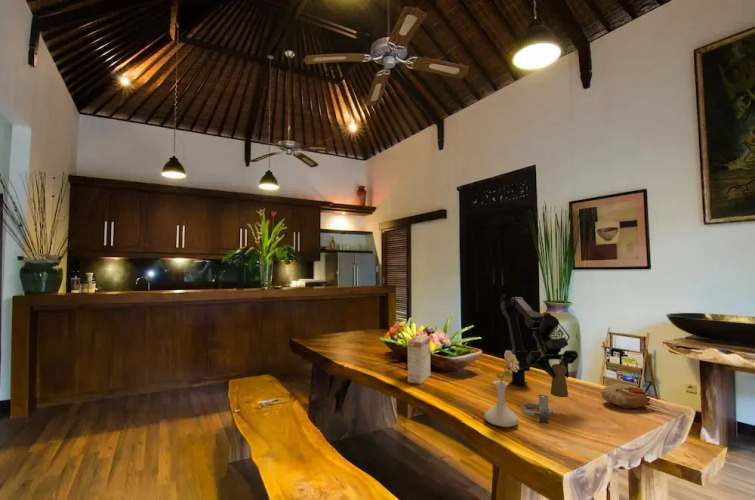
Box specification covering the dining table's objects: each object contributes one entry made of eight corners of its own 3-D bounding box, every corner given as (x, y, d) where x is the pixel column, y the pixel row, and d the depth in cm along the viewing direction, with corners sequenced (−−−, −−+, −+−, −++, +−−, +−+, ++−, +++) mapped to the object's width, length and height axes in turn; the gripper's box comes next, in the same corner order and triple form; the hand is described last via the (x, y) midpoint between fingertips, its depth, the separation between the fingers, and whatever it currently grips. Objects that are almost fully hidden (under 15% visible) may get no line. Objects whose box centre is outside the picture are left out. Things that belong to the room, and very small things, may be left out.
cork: (568, 393, 138) (567, 363, 138) (568, 398, 132) (567, 367, 133) (550, 390, 140) (550, 361, 141) (550, 395, 135) (549, 365, 135)
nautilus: (668, 409, 140) (667, 424, 129) (603, 393, 154) (597, 406, 142) (669, 389, 140) (668, 403, 128) (604, 375, 154) (598, 386, 142)
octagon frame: (519, 405, 142) (519, 382, 143) (547, 407, 140) (547, 384, 141) (529, 422, 127) (528, 396, 127) (560, 425, 125) (560, 398, 125)
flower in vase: (500, 432, 119) (499, 355, 120) (477, 419, 129) (476, 348, 131) (529, 426, 124) (528, 352, 125) (505, 413, 135) (505, 345, 136)
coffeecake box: (417, 373, 184) (417, 334, 185) (431, 375, 181) (430, 336, 182) (406, 382, 171) (406, 340, 172) (421, 384, 168) (421, 341, 169)
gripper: (529, 330, 140) (545, 367, 129) (575, 329, 142) (594, 366, 130) (520, 345, 148) (534, 382, 136) (563, 345, 149) (581, 381, 138)
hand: (561, 377), depth 135 cm, fingers closed on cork, 5 cm apart
